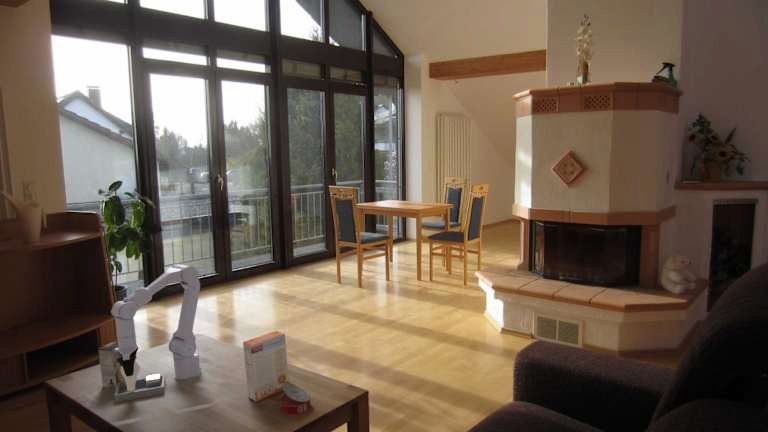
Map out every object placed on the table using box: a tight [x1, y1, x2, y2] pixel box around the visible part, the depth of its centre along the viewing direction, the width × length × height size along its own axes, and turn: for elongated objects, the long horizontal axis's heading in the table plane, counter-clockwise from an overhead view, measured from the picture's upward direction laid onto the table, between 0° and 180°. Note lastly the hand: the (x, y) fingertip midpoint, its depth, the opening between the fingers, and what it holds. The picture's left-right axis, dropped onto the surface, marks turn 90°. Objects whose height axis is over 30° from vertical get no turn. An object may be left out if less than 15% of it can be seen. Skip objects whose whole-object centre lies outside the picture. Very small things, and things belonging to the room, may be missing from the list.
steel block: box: [145, 373, 161, 389], centre depth 192 cm, size 4×4×4 cm
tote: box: [113, 374, 166, 403], centre depth 190 cm, size 16×11×4 cm
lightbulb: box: [121, 360, 141, 392], centre depth 185 cm, size 6×6×11 cm
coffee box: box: [97, 339, 125, 389], centre depth 198 cm, size 9×6×16 cm
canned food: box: [279, 381, 311, 415], centre depth 176 cm, size 11×10×10 cm
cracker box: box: [242, 330, 290, 403], centre depth 186 cm, size 14×6×21 cm, turn 135°
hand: (130, 371), depth 185 cm, fingers closed on lightbulb, 6 cm apart
